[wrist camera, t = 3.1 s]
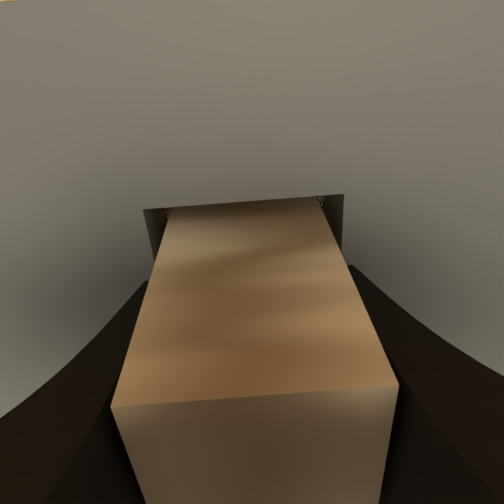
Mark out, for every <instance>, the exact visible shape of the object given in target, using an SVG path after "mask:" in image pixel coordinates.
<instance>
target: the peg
mask: <svg viewBox="0 0 504 504" xmlns="http://www.w3.org/2000/svg"><path fill="white" fill-rule="evenodd" d="M398 389H399V384H398V381H397V379H396V377H395V375H394V372H393V370H392V368H391V365H390V363H389V361H388V359H387V356H386V354H385V352H384V350H383V347H382V345H381V343H380V340H379V338H378V336H377V334H376V331H375V329H374V327H373V324H372V322H371V320H370V318H369V315H368V313H367V311H366V308H365V306H364V304H363V302H362V299H361V297H360V295H359V292H358V290H357V288H356V286H355V283H354V281H353V279H352V277H351V274H350V272H349V270H348V267H347V265H346V263H345V261H344V258H343V256H342V254H341V251H340V249H339V247H338V245H337V242H336V240H335V238H334V235H333V233H332V231H331V229H330V226H329V224H328V222H327V220H326V217H325V215H324V213H323V210H322V208H321V206H320V204H319V201H318V199H317V197H316V196H309V197H296V198H283V199H270V200H257V201H244V202H231V203H218V204H205V205H193V206H180V207H172V209H171V212H170V215H169V219H168V222H167V225H166V228H165V232H164V235H163V238H162V241H161V244H160V248H159V251H158V254H157V257H156V261H155V264H154V267H153V270H152V274H151V277H150V280H149V283H148V287H147V290H146V293H145V296H144V300H143V303H142V306H141V309H140V313H139V316H138V319H137V322H136V326H135V329H134V332H133V335H132V339H131V342H130V345H129V348H128V352H127V355H126V358H125V361H124V365H123V368H122V371H121V374H120V378H119V381H118V384H117V387H116V391H115V394H114V397H113V400H112V403H111V407H110V408H111V410H112V413H113V416H114V418H115V421H116V424H117V426H118V429H119V432H120V435H121V437H122V440H123V443H124V445H125V448H126V451H127V453H128V456H129V459H130V461H131V464H132V467H133V470H134V472H135V475H136V478H137V480H138V483H139V486H140V488H141V491H142V494H143V497H144V499H145V502H146V504H379V498H380V492H381V486H382V481H383V475H384V469H385V463H386V458H387V452H388V446H389V440H390V435H391V429H392V423H393V417H394V412H395V406H396V400H397V394H398Z"/></svg>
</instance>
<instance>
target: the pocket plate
mask: <svg viewBox="0 0 504 504" xmlns="http://www.w3.org/2000/svg"><path fill="white" fill-rule="evenodd" d="M322 195H324V215H325V217H326V220H327V222H328V224H329V226H330V229H331V231H332V233H333V235H334V238H335V240H336V242H337V245H338V247H339V249H340V251H341V254H342V256H343V258H344V261H345V263H346V265H354V266H355V267H356V268H357V269H358V270H359V271H360V272H362V273H363V274H364V275H365V276H366V277H367V278H368V279H369V280H370V281H372V282H373V283H374V284H375V285H376V286H377V287H378V288H379V289H380V290H382V291H383V292H384V293H385V294H386V295H387V296H388V297H390V298H391V299H392V300H393V301H394V302H396V303H397V304H398V305H399V306H400V307H402V308H403V309H404V310H405V311H407V312H408V313H409V314H410V315H412V316H413V317H414V318H415V319H417V320H418V321H419V322H421V323H422V324H423V325H425V326H426V327H428V328H429V329H430V330H432V331H433V332H434V333H436V334H437V335H439V336H440V337H441V338H443V339H444V340H446V341H447V342H449V343H450V344H452V345H453V346H455V347H456V348H458V349H459V350H461V351H463V352H464V353H466V354H467V355H469V356H471V357H472V358H474V359H475V360H477V361H479V362H480V363H482V364H483V365H485V366H487V367H489V368H490V369H492V370H494V371H496V372H497V373H499V374H501V375H503V376H504V0H16V1H3V2H0V418H1V417H2V416H4V415H5V414H6V413H8V412H9V411H10V410H12V409H13V408H15V407H16V406H17V405H19V404H20V403H21V402H23V401H24V400H25V399H26V398H28V397H29V396H30V395H31V394H33V393H34V392H35V391H36V390H37V389H39V388H40V387H41V386H42V385H43V384H45V383H46V382H47V381H48V380H49V379H51V378H52V377H53V376H54V375H55V374H56V373H57V372H59V371H60V370H61V369H62V368H63V367H64V366H65V365H66V364H67V363H68V362H70V361H71V360H72V359H73V358H74V357H75V356H76V355H77V354H78V353H79V352H80V351H81V350H82V349H83V348H84V347H85V346H86V345H87V344H88V343H89V342H90V341H91V340H92V339H93V338H94V337H95V336H96V335H97V334H98V333H99V332H100V330H101V329H102V328H103V327H104V326H105V325H106V324H107V323H108V322H109V321H110V320H111V319H112V317H113V316H114V315H115V314H116V313H117V312H118V311H119V310H120V308H121V307H122V306H123V305H124V304H125V303H126V302H127V300H128V299H129V298H130V297H131V296H132V295H133V294H134V292H135V291H136V290H137V289H138V288H139V287H140V286H141V285H142V284H143V282H144V281H147V280H150V277H151V274H152V270H153V267H154V264H155V261H156V257H157V254H158V251H159V248H160V244H161V241H162V238H163V235H164V232H165V228H166V225H167V222H168V221H167V215H166V210H165V208H167V207H180V206H193V205H205V204H218V203H231V202H244V201H257V200H270V199H283V198H296V197H309V196H322Z"/></svg>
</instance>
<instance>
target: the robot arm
mask: <svg viewBox="0 0 504 504" xmlns="http://www.w3.org/2000/svg"><path fill="white" fill-rule="evenodd" d="M347 267H348V270H349V272H350V274H351V277H352V279H353V281H354V283H355V286H356V288H357V290H358V292H359V295H360V297H361V299H362V302H363V304H364V306H365V308H366V311H367V313H368V315H369V318H370V320H371V322H372V324H373V327H374V329H375V331H376V334H377V336H378V338H379V340H380V343H381V345H382V347H383V350H384V352H385V354H386V356H387V359H388V361H389V363H390V365H391V368H392V370H393V372H394V375H395V377H396V379H397V381H398V384H399V389H398V394H397V400H396V406H395V412H394V417H393V423H392V429H391V435H390V440H389V446H388V452H387V458H386V463H385V469H384V475H383V481H382V486H381V492H380V498H379V504H504V376H503V375H501V374H499V373H497V372H496V371H494V370H492V369H490V368H489V367H487V366H485V365H483V364H482V363H480V362H479V361H477V360H475V359H474V358H472V357H471V356H469V355H467V354H466V353H464V352H463V351H461V350H459V349H458V348H456V347H455V346H453V345H452V344H450V343H449V342H447V341H446V340H444V339H443V338H441V337H440V336H439V335H437V334H436V333H434V332H433V331H432V330H430V329H429V328H428V327H426V326H425V325H423V324H422V323H421V322H419V321H418V320H417V319H415V318H414V317H413V316H412V315H410V314H409V313H408V312H407V311H405V310H404V309H403V308H402V307H400V306H399V305H398V304H397V303H396V302H394V301H393V300H392V299H391V298H390V297H388V296H387V295H386V294H385V293H384V292H383V291H382V290H380V289H379V288H378V287H377V286H376V285H375V284H374V283H373V282H372V281H370V280H369V279H368V278H367V277H366V276H365V275H364V274H363V273H362V272H360V271H359V270H358V269H357V268H356V267H355V266H354V265H347ZM148 283H149V280H147V281H144V282H143V284H142V285H141V286H140V287H139V288H138V289H137V290H136V291H135V292H134V294H133V295H132V296H131V297H130V298H129V299H128V300H127V302H126V303H125V304H124V305H123V306H122V307H121V308H120V310H119V311H118V312H117V313H116V314H115V315H114V316H113V317H112V319H111V320H110V321H109V322H108V323H107V324H106V325H105V326H104V327H103V328H102V329H101V330H100V332H99V333H98V334H97V335H96V336H95V337H94V338H93V339H92V340H91V341H90V342H89V343H88V344H87V345H86V346H85V347H84V348H83V349H82V350H81V351H80V352H79V353H78V354H77V355H76V356H75V357H74V358H73V359H72V360H71V361H70V362H68V363H67V364H66V365H65V366H64V367H63V368H62V369H61V370H60V371H59V372H57V373H56V374H55V375H54V376H53V377H52V378H51V379H49V380H48V381H47V382H46V383H45V384H43V385H42V386H41V387H40V388H39V389H37V390H36V391H35V392H34V393H33V394H31V395H30V396H29V397H28V398H26V399H25V400H24V401H23V402H21V403H20V404H19V405H17V406H16V407H15V408H13V409H12V410H10V411H9V412H8V413H6V414H5V415H4V416H2V417H1V418H0V504H146V502H145V499H144V497H143V494H142V491H141V488H140V486H139V483H138V480H137V478H136V475H135V472H134V470H133V467H132V464H131V461H130V459H129V456H128V453H127V451H126V448H125V445H124V443H123V440H122V437H121V435H120V432H119V429H118V426H117V424H116V421H115V418H114V416H113V413H112V410H111V408H110V407H111V403H112V400H113V397H114V394H115V391H116V387H117V384H118V381H119V378H120V374H121V371H122V368H123V365H124V361H125V358H126V355H127V352H128V348H129V345H130V342H131V339H132V335H133V332H134V329H135V326H136V322H137V319H138V316H139V313H140V309H141V306H142V303H143V300H144V296H145V293H146V290H147V287H148Z"/></svg>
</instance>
